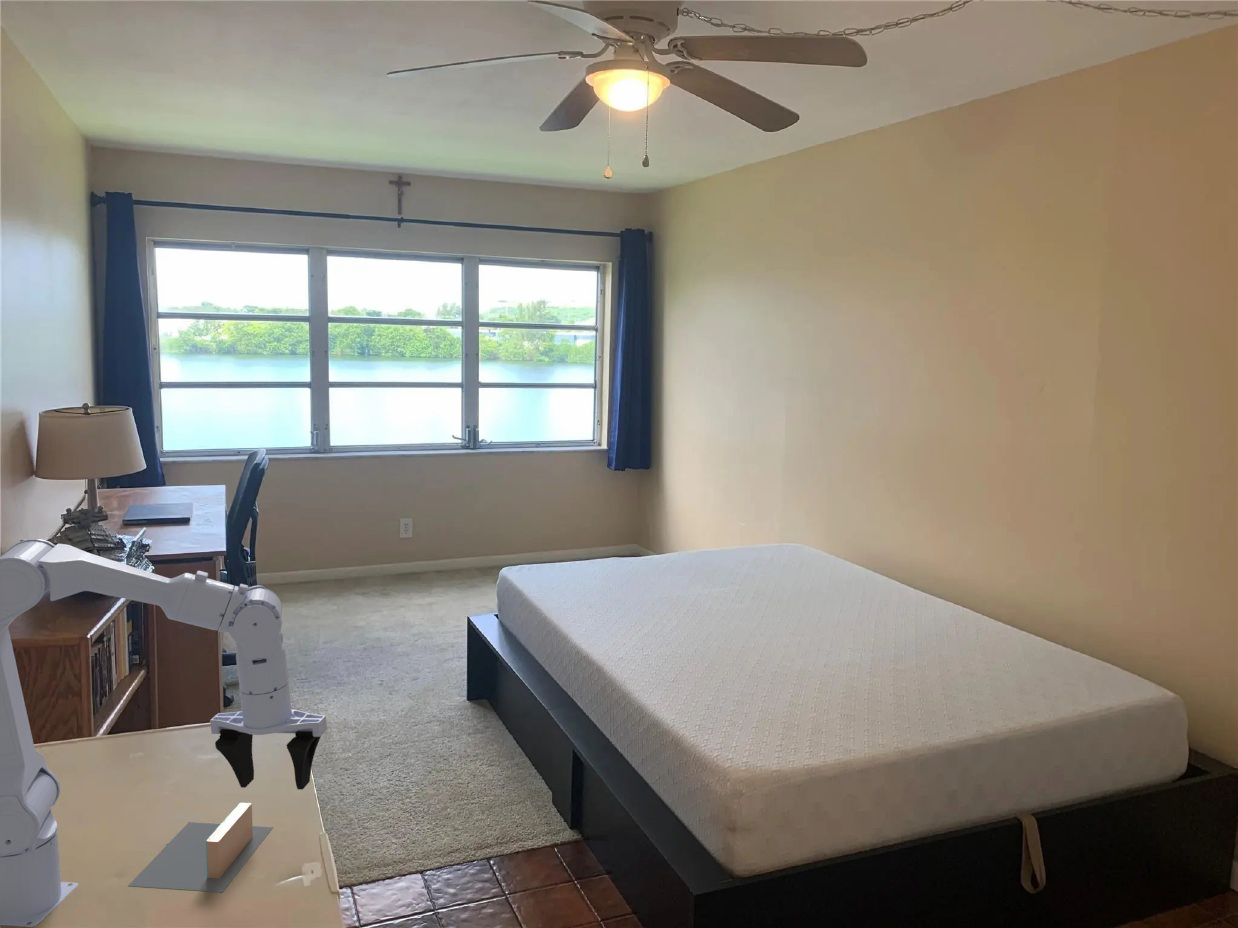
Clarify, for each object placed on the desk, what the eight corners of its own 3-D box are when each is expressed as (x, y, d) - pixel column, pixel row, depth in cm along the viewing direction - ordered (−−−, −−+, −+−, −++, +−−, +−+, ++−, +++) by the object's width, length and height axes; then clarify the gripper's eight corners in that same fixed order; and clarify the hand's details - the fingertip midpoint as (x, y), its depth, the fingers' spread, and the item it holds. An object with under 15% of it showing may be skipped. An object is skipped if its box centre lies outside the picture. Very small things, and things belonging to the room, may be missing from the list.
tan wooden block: (207, 877, 109) (205, 840, 108) (241, 836, 118) (240, 802, 117) (219, 878, 109) (218, 841, 108) (252, 836, 117) (251, 802, 117)
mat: (128, 888, 107) (127, 885, 107) (189, 824, 120) (188, 821, 120) (222, 894, 106) (222, 891, 106) (273, 829, 120) (273, 827, 120)
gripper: (333, 672, 111) (342, 769, 114) (227, 670, 113) (238, 766, 115) (307, 696, 104) (318, 799, 107) (195, 694, 106) (208, 795, 108)
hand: (275, 784), depth 111 cm, fingers open, 7 cm apart
